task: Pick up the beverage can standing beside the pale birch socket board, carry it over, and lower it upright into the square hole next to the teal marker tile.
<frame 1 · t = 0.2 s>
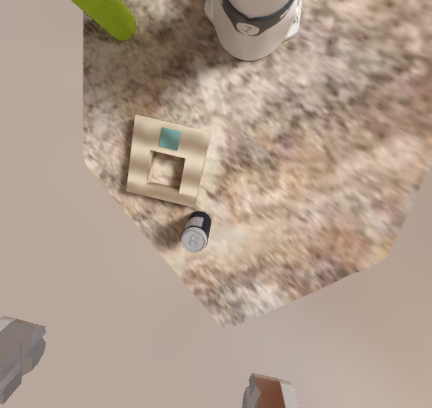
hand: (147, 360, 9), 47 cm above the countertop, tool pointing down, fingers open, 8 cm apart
socket board: (170, 161, 54), on the countertop
soap dispenser: (124, 24, 47), on the countertop
beverage can: (200, 220, 58), on the countertop
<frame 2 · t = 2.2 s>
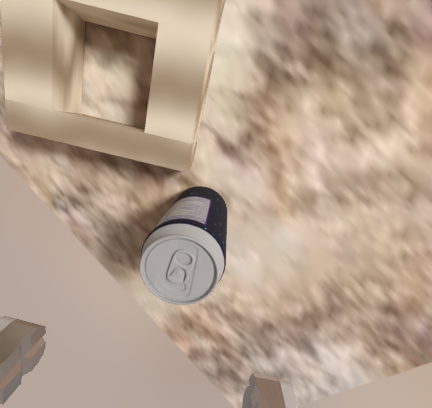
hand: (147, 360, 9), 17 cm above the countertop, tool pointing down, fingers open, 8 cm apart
socket board: (126, 56, 21), on the countertop
beverage can: (202, 208, 26), on the countertop
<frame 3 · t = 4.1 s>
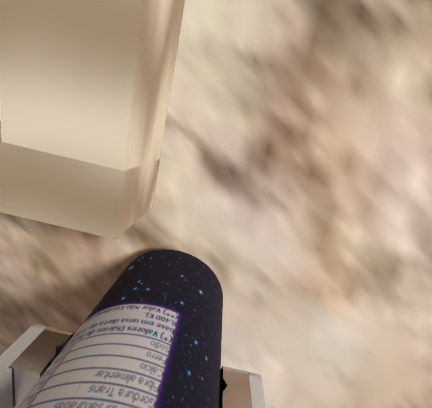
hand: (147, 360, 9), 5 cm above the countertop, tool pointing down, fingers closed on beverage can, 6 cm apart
beverage can: (175, 283, 13), on the countertop, touching gripper
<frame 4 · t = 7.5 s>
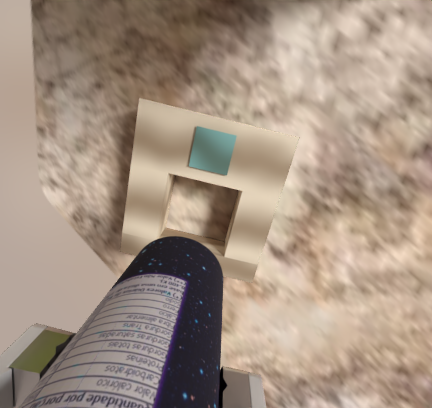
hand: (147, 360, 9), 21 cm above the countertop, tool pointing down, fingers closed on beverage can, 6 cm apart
socket board: (205, 191, 28), on the countertop
beverage can: (181, 268, 15), point 14 cm above the countertop, touching gripper
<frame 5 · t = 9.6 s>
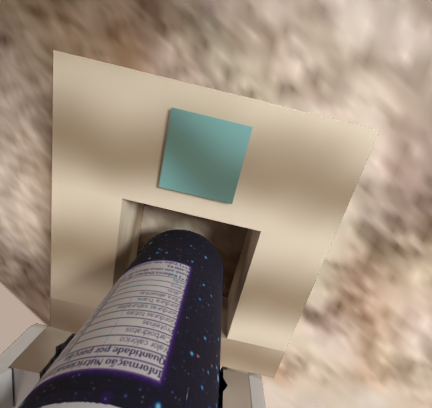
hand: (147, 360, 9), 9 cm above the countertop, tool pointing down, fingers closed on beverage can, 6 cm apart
socket board: (195, 221, 17), on the countertop
beverage can: (184, 260, 16), point 2 cm above the countertop, touching gripper
when the fingers open (6 cm above the countertop, at t = 11.2 s): beverage can stays where it is, resting in socket board.
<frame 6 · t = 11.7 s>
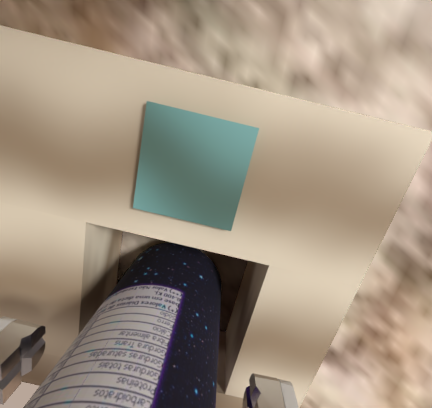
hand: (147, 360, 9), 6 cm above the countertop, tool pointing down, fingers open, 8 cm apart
socket board: (186, 243, 14), on the countertop
beverage can: (179, 274, 15), resting in socket board
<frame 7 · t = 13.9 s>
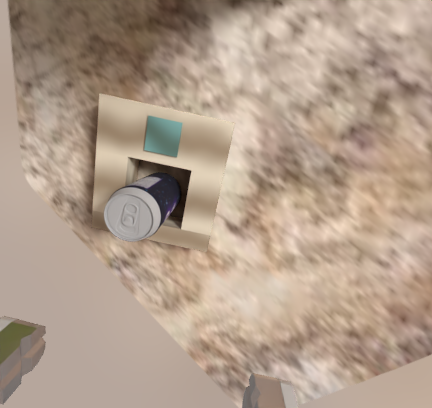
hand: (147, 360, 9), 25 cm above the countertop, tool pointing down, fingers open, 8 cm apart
socket board: (165, 174, 32), on the countertop
beverage can: (163, 190, 33), resting in socket board
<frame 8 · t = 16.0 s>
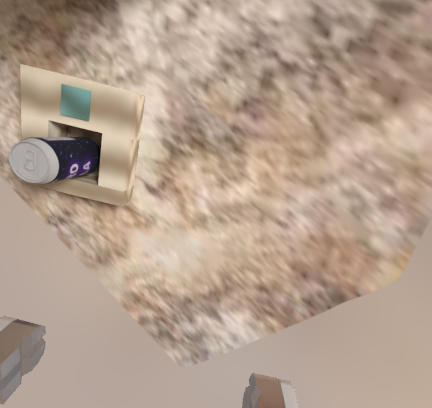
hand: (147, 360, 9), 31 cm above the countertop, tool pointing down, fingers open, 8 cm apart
socket board: (90, 140, 37), on the countertop
beverage can: (89, 154, 38), resting in socket board
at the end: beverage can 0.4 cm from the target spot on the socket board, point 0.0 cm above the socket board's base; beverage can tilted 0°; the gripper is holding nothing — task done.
